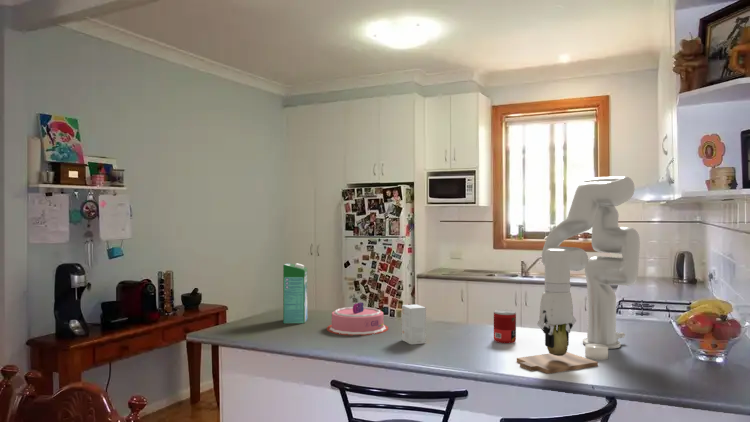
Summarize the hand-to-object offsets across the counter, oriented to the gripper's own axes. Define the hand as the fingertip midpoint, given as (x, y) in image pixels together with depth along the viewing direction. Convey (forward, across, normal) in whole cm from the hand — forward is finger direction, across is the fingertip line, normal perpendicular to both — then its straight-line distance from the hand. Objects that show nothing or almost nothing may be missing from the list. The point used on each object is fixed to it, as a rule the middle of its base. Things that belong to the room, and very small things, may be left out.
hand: (556, 345), depth 173 cm
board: (+6, +1, 0) cm, 6 cm away
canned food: (+6, -4, -31) cm, 32 cm away
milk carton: (+6, +56, -97) cm, 112 cm away
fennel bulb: (+3, 0, 0) cm, 3 cm away
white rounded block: (+6, -18, -1) cm, 19 cm away
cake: (+6, +37, -73) cm, 82 cm away
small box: (+6, +27, -44) cm, 52 cm away
